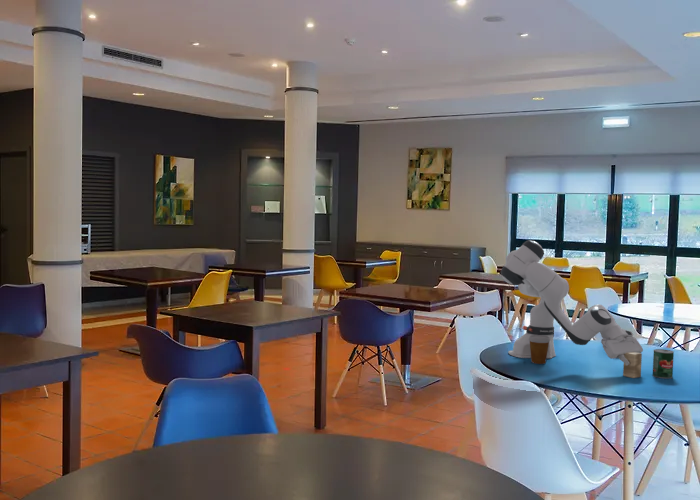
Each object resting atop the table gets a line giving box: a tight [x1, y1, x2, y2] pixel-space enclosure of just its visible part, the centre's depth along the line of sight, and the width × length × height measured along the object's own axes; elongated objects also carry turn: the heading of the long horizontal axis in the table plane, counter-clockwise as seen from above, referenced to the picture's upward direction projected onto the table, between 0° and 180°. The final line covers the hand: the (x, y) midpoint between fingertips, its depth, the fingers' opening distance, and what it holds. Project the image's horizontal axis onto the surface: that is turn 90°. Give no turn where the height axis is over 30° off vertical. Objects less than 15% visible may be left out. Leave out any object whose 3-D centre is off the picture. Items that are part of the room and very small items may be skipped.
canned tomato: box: [652, 348, 675, 380], centre depth 295 cm, size 8×8×11 cm
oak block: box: [622, 352, 643, 379], centre depth 293 cm, size 5×5×10 cm
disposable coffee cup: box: [529, 335, 550, 365], centre depth 318 cm, size 10×10×12 cm
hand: (633, 364), depth 293 cm, fingers closed on oak block, 5 cm apart
